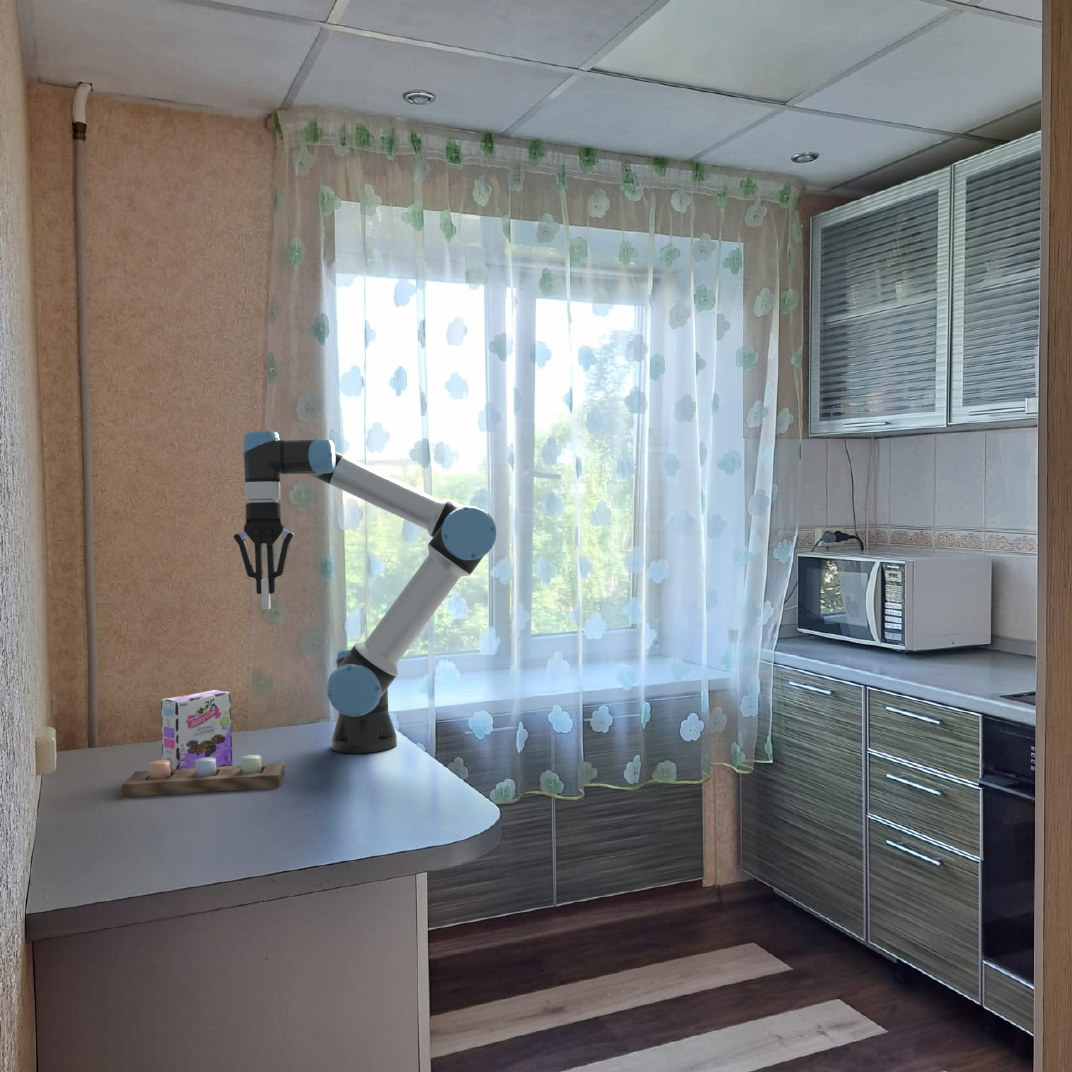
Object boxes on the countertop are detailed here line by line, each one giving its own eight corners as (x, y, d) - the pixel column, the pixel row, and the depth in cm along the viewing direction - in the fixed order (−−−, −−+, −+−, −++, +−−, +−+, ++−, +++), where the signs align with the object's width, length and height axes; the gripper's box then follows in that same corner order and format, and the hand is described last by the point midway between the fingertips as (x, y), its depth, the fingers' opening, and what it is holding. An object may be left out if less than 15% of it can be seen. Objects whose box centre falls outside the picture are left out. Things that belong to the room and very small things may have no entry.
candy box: (177, 779, 205) (175, 701, 204) (161, 775, 208) (159, 698, 208) (233, 764, 216) (231, 690, 215) (217, 761, 219) (215, 688, 219)
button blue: (218, 776, 201) (217, 756, 201) (214, 781, 197) (213, 761, 197) (198, 777, 201) (197, 758, 201) (194, 782, 197) (193, 762, 197)
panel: (284, 774, 206) (284, 762, 206) (278, 787, 196) (278, 774, 196) (135, 783, 202) (135, 771, 202) (122, 797, 192) (122, 784, 192)
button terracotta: (172, 778, 200) (172, 759, 200) (168, 784, 196) (167, 764, 196) (152, 780, 199) (151, 760, 199) (147, 785, 195) (146, 765, 195)
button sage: (262, 773, 202) (262, 754, 202) (260, 778, 198) (259, 758, 198) (243, 774, 202) (242, 755, 202) (240, 779, 198) (239, 760, 198)
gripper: (295, 501, 219) (298, 606, 219) (235, 502, 217) (238, 608, 217) (291, 500, 211) (294, 609, 212) (229, 502, 210) (233, 611, 210)
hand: (266, 608), depth 215 cm, fingers closed
